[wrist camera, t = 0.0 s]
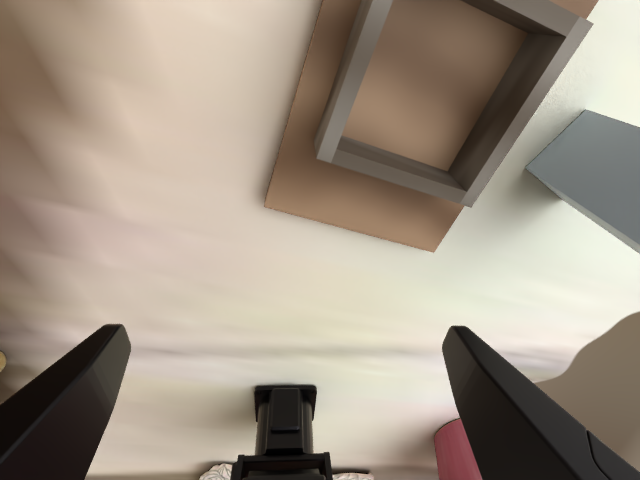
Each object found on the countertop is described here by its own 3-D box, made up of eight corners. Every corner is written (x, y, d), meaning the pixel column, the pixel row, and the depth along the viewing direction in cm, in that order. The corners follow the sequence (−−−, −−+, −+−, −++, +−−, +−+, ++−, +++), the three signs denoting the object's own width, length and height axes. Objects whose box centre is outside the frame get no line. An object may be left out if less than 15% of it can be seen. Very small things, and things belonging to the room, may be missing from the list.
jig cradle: (428, 243, 26) (448, 278, 23) (265, 198, 23) (260, 231, 20) (637, -88, 16) (732, -116, 13) (394, -247, 13) (430, -342, 9)
